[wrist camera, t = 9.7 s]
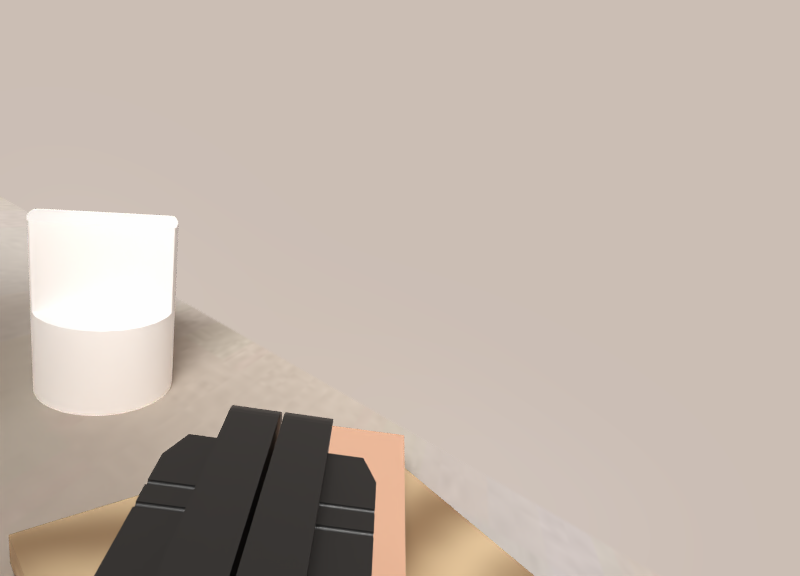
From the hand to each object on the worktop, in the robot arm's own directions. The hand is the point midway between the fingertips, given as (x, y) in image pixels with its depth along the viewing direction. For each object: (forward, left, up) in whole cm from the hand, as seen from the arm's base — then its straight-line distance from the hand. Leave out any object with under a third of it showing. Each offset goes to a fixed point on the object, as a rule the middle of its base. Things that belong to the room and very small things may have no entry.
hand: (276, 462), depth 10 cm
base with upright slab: (-36, +9, -19) cm, 42 cm away
